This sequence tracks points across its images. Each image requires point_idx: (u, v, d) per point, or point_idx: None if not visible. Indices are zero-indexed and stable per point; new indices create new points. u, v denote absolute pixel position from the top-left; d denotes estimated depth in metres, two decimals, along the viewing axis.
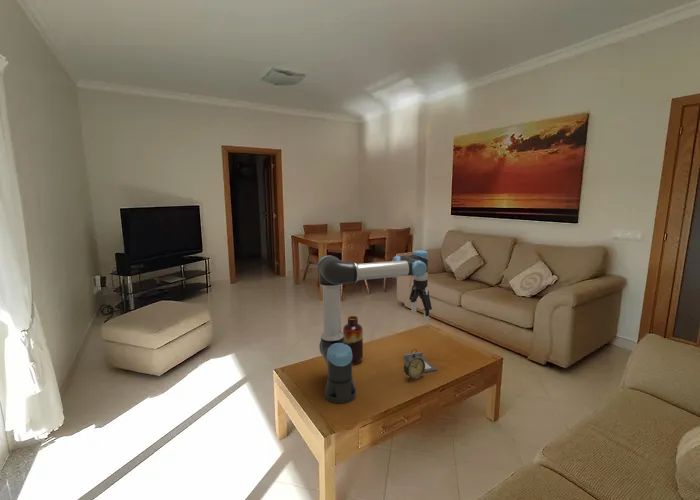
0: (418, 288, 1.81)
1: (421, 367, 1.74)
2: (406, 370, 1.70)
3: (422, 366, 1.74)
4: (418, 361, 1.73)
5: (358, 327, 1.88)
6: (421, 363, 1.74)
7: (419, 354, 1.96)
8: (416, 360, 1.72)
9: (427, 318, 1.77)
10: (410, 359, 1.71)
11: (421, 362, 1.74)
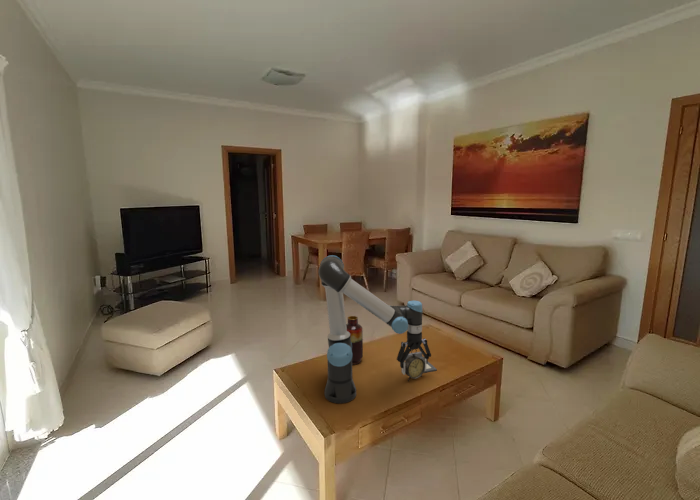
0: None
1: (421, 367, 1.74)
2: (406, 370, 1.70)
3: (422, 366, 1.74)
4: (418, 361, 1.73)
5: (358, 327, 1.88)
6: (421, 363, 1.74)
7: (419, 354, 1.96)
8: (416, 360, 1.72)
9: (403, 371, 1.72)
10: (410, 359, 1.71)
11: (421, 362, 1.74)
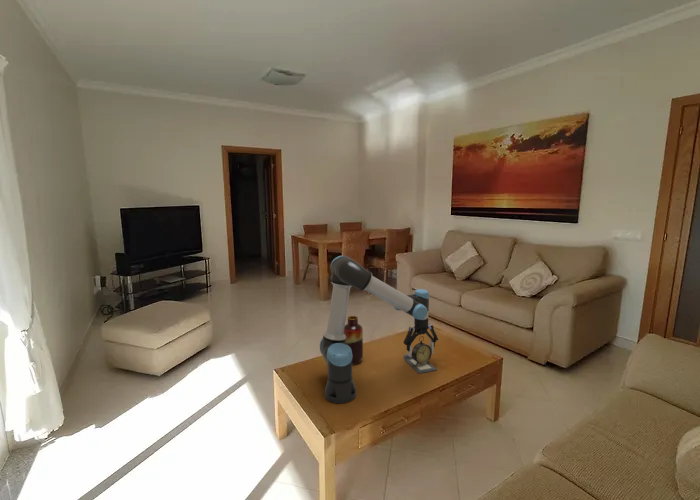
0: None
1: (428, 353, 1.87)
2: (414, 356, 1.84)
3: (429, 352, 1.87)
4: (425, 348, 1.86)
5: (358, 327, 1.88)
6: (428, 350, 1.87)
7: None
8: (423, 347, 1.85)
9: (409, 353, 1.84)
10: (418, 346, 1.84)
11: (428, 349, 1.87)
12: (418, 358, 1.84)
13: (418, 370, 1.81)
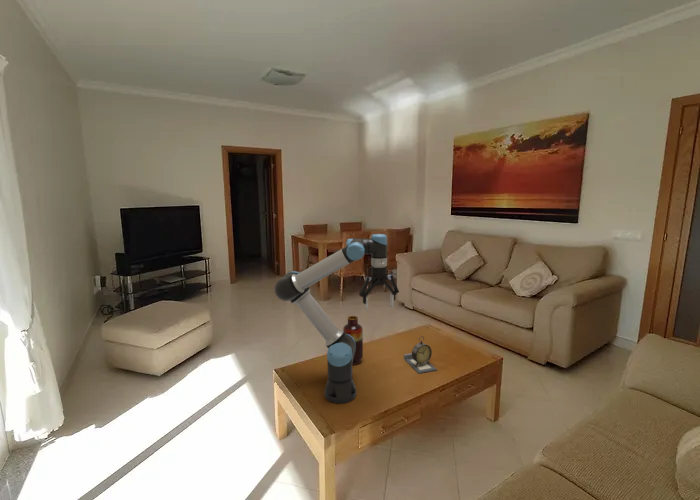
0: None
1: (428, 353, 1.87)
2: (414, 356, 1.84)
3: (429, 352, 1.87)
4: (425, 348, 1.86)
5: (358, 327, 1.88)
6: (428, 350, 1.87)
7: None
8: (423, 347, 1.85)
9: (365, 306, 1.64)
10: (418, 346, 1.84)
11: (428, 349, 1.87)
12: (418, 358, 1.84)
13: (418, 370, 1.81)
